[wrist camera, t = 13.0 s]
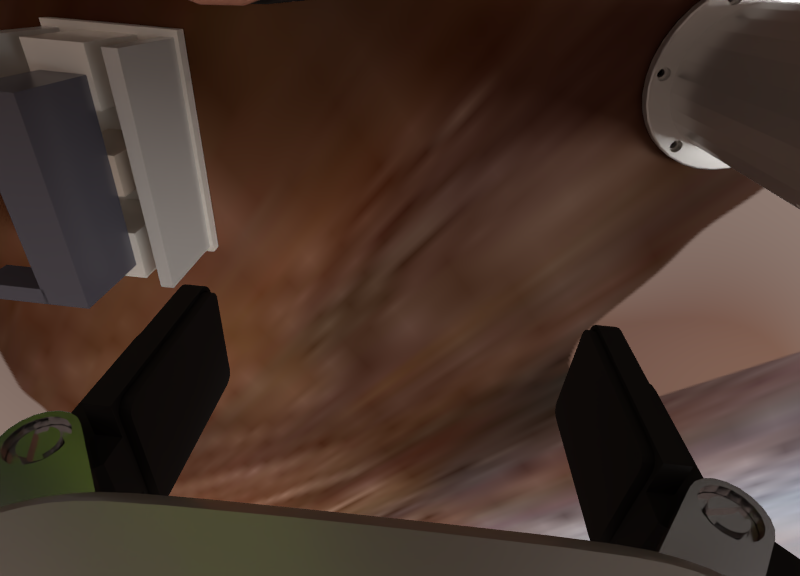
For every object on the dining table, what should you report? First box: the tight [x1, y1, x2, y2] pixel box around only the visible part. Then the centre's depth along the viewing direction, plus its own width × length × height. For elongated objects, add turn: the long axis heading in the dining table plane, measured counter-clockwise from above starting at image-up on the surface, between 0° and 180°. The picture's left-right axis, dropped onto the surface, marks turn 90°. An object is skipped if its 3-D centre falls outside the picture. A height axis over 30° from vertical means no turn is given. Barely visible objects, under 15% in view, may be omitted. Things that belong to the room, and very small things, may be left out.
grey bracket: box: [0, 70, 136, 308], centre depth 30 cm, size 7×14×6 cm, turn 175°
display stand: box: [0, 17, 218, 288], centre depth 35 cm, size 10×18×8 cm, turn 176°
